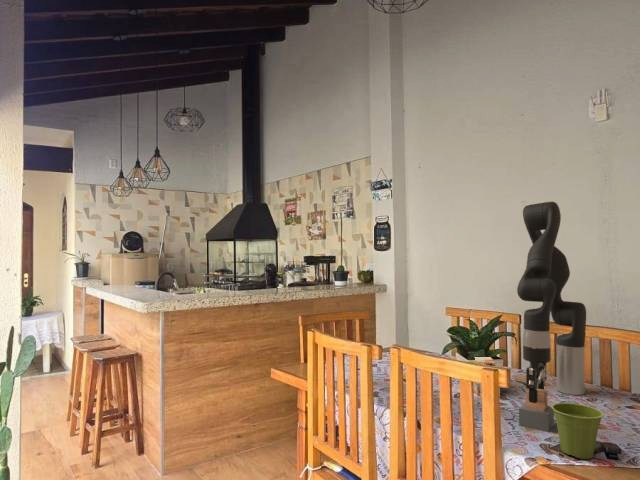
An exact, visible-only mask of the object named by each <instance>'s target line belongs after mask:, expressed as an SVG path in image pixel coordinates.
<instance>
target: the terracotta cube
mask: <svg viewBox="0 0 640 480" xmlns="http://www.w3.org/2000/svg"><path fill="white" fill-rule="evenodd" d="M548 393H549V392H548V390H547V389H544V390H542V389H538V390H537V403H532V402H529V389H528V388H526V390H525V402H526V408H529V409H534V410H538V411H543V412H544V411H545V410H546V408H547V407H548V406H549V405H548V400H549V399H548Z"/></svg>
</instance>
